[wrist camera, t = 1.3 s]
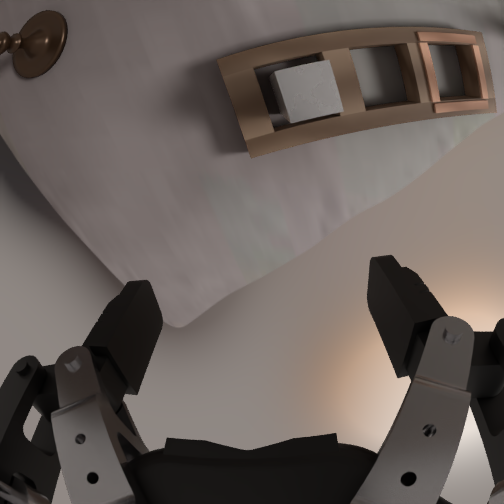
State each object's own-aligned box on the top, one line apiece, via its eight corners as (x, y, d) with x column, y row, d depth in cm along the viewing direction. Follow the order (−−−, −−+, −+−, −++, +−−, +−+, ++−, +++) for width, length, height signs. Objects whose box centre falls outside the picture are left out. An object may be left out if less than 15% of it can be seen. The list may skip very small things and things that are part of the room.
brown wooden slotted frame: (220, 62, 24) (215, 59, 21) (466, 33, 19) (483, 32, 16) (251, 151, 29) (250, 159, 26) (481, 108, 24) (498, 113, 21)
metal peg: (268, 77, 25) (274, 71, 17) (307, 68, 24) (329, 59, 16) (280, 113, 27) (290, 123, 19) (318, 104, 26) (343, 111, 18)
